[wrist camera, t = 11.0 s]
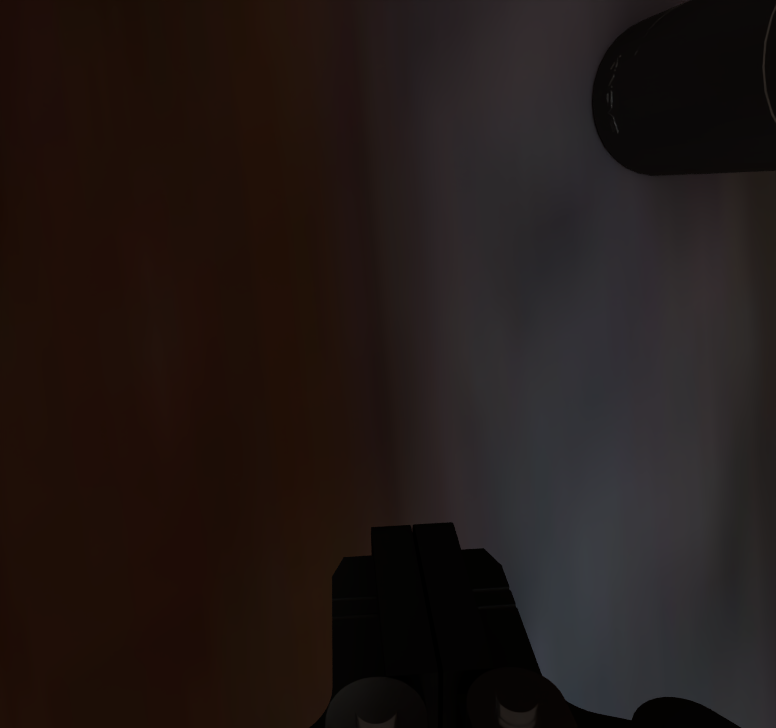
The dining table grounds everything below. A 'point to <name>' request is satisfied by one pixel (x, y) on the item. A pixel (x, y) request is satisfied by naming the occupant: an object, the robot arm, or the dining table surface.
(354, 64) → the dining table surface
